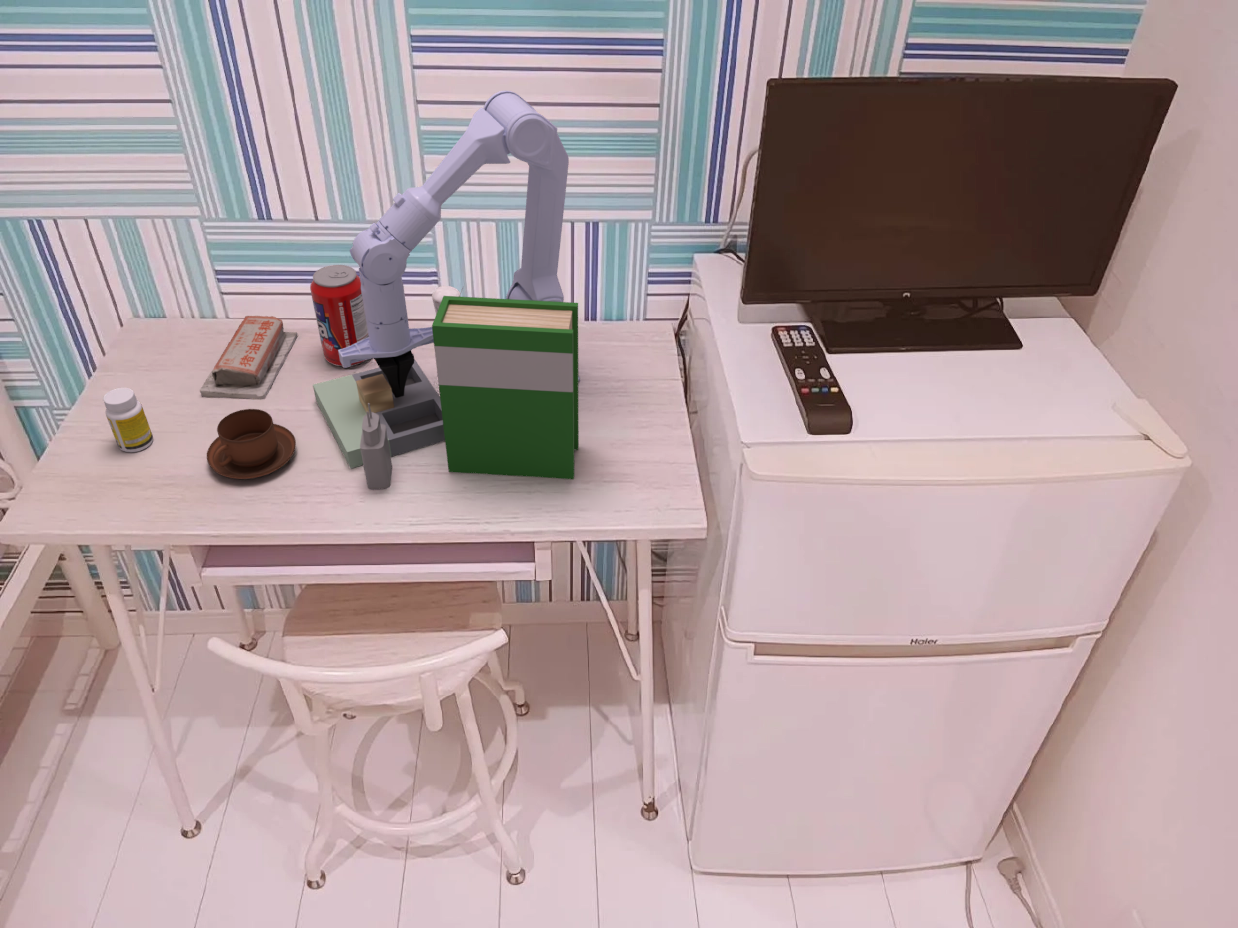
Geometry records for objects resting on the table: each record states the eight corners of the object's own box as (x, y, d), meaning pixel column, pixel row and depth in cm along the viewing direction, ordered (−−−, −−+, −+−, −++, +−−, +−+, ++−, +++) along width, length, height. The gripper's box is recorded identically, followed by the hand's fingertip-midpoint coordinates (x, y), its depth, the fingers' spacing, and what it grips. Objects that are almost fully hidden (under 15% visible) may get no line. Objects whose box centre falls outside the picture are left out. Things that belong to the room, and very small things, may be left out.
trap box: (416, 374, 157) (414, 358, 155) (457, 437, 145) (455, 420, 143) (316, 400, 151) (312, 384, 149) (350, 468, 138) (347, 452, 137)
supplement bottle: (161, 437, 143) (144, 390, 138) (138, 456, 139) (120, 408, 134) (133, 429, 144) (116, 382, 139) (111, 448, 141) (92, 401, 135)
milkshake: (463, 346, 163) (458, 293, 156) (432, 342, 164) (426, 289, 157) (472, 332, 166) (467, 280, 160) (441, 328, 167) (436, 276, 161)
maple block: (385, 393, 147) (382, 373, 145) (394, 407, 145) (391, 388, 142) (359, 400, 146) (355, 380, 144) (367, 414, 143) (364, 395, 141)
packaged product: (233, 310, 162) (293, 313, 162) (239, 336, 165) (298, 338, 165) (193, 373, 148) (259, 376, 148) (201, 399, 151) (265, 402, 151)
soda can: (373, 368, 157) (359, 286, 148) (322, 372, 156) (305, 288, 147) (375, 342, 163) (362, 260, 154) (326, 345, 162) (310, 263, 153)
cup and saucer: (276, 491, 135) (267, 457, 131) (194, 480, 136) (182, 446, 132) (311, 438, 144) (303, 404, 140) (234, 428, 145) (224, 394, 141)
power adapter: (366, 489, 135) (353, 420, 127) (370, 464, 139) (357, 395, 132) (390, 488, 135) (378, 419, 128) (392, 463, 140) (381, 394, 132)
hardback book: (578, 446, 144) (578, 302, 128) (573, 479, 138) (572, 333, 123) (458, 439, 144) (443, 295, 129) (448, 472, 139) (431, 325, 123)
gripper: (426, 289, 143) (434, 367, 151) (326, 312, 137) (341, 391, 146) (443, 312, 138) (451, 391, 147) (341, 337, 132) (355, 417, 141)
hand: (397, 393), depth 146 cm, fingers closed
